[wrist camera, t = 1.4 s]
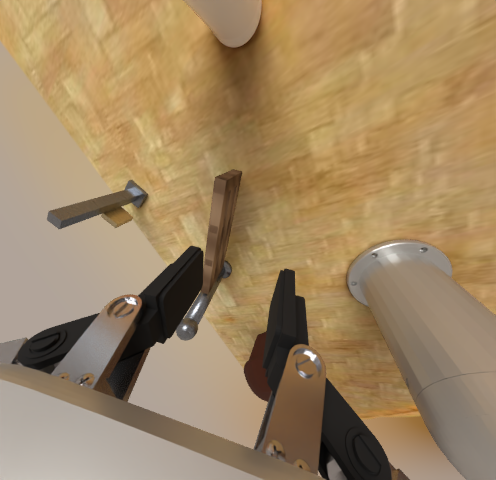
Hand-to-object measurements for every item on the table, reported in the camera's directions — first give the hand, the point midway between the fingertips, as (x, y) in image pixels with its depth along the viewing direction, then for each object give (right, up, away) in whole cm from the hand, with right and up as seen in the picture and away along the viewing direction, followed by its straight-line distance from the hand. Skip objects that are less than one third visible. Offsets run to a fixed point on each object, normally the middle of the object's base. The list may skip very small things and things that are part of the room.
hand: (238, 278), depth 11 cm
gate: (-3, +5, +17) cm, 17 cm away
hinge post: (-4, -3, +23) cm, 23 cm away
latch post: (-18, +10, +19) cm, 28 cm away
